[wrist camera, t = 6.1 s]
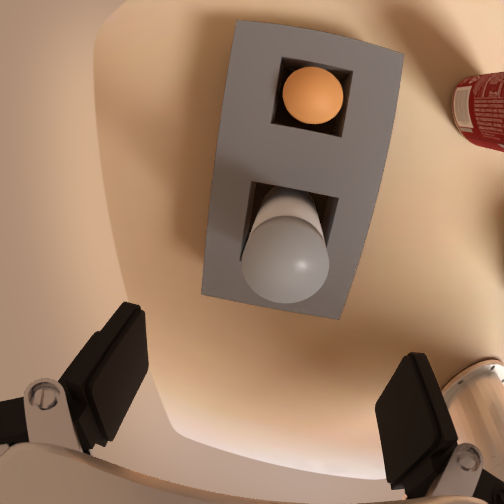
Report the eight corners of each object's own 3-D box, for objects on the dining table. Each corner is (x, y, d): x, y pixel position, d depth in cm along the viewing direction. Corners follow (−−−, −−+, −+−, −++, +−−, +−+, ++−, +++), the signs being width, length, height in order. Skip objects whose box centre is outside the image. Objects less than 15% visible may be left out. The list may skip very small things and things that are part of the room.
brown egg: (328, 128, 24) (337, 129, 19) (280, 118, 24) (278, 117, 19) (336, 82, 22) (347, 73, 17) (288, 73, 22) (287, 61, 18)
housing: (333, 290, 30) (339, 319, 26) (214, 268, 31) (201, 294, 26) (385, 64, 21) (404, 54, 17) (246, 37, 22) (236, 20, 17)
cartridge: (309, 242, 29) (317, 309, 19) (256, 232, 29) (236, 294, 19) (321, 190, 27) (338, 233, 17) (265, 179, 27) (248, 216, 17)
